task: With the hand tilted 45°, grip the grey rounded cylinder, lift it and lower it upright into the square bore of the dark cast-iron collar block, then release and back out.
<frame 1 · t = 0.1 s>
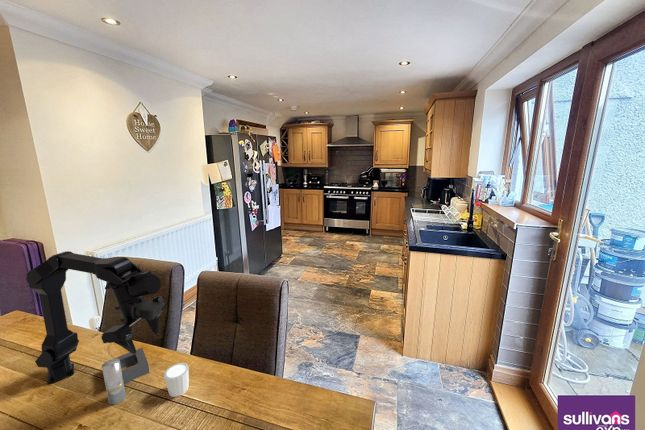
hand: (146, 343, 85), 15 cm above the table, tool pointing down, fingers open, 9 cm apart
grey rounded cylinder: (117, 398, 83), on the table
white cylinder: (178, 389, 86), on the table
collar block: (127, 371, 93), on the table
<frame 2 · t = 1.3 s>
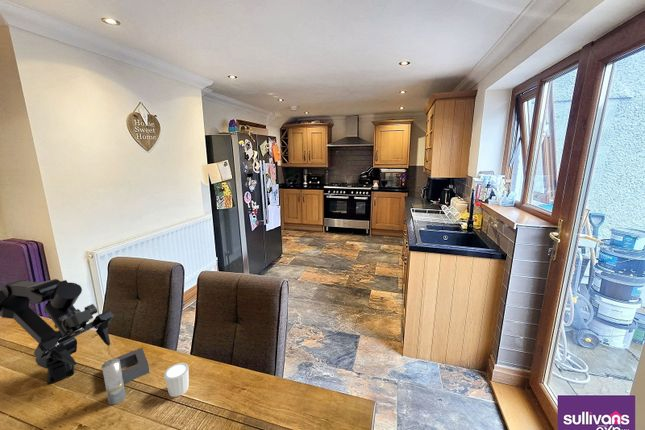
hand: (93, 354, 83), 13 cm above the table, tool tilted 45°, fingers open, 9 cm apart
nothing on the table moved.
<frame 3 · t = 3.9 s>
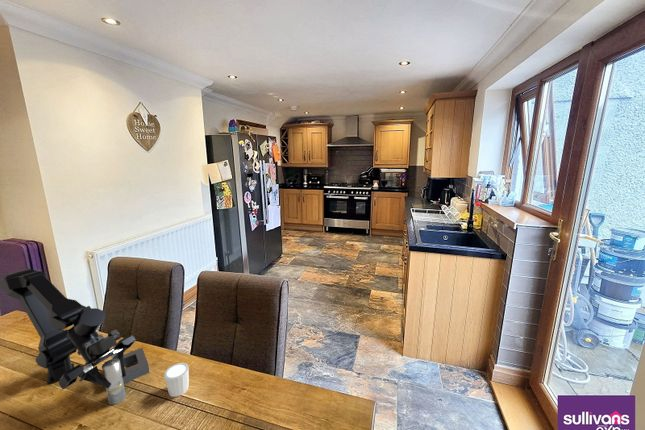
hand: (117, 381, 81), 7 cm above the table, tool tilted 45°, fingers closed on grey rounded cylinder, 4 cm apart
grey rounded cylinder: (117, 398, 83), on the table, touching gripper
everything else where it was.
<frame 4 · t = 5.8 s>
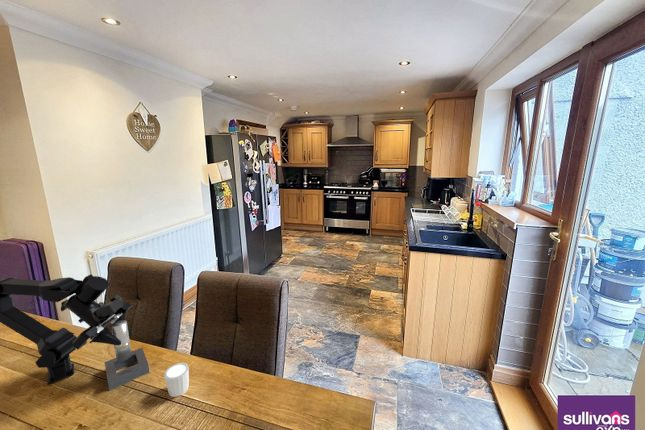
hand: (125, 339, 90), 13 cm above the table, tool tilted 45°, fingers closed on grey rounded cylinder, 4 cm apart
grey rounded cylinder: (124, 357, 91), point 7 cm above the table, touching gripper
everything else where it was.
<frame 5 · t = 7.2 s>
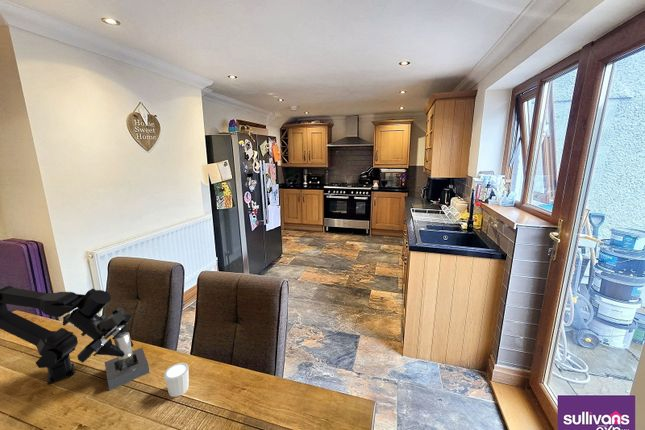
hand: (128, 350, 92), 8 cm above the table, tool tilted 45°, fingers closed on grey rounded cylinder, 4 cm apart
grey rounded cylinder: (126, 367, 93), point 2 cm above the table, touching gripper
everything else where it was.
when the fingers open (8 cm above the table, at t = 8.0 s): grey rounded cylinder drops 1 cm, resting in collar block.
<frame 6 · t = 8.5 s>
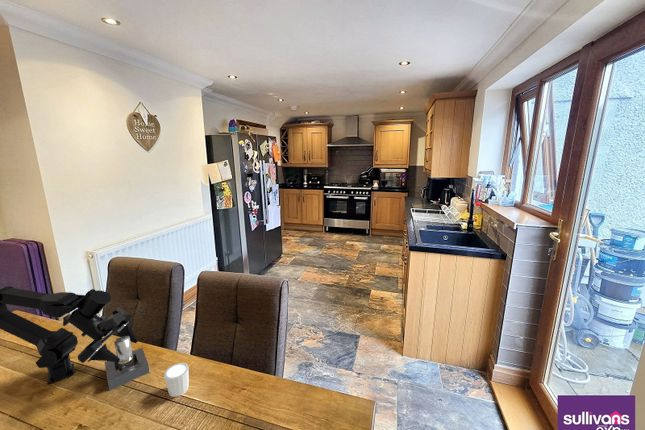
hand: (128, 351, 92), 8 cm above the table, tool tilted 45°, fingers open, 9 cm apart
grey rounded cylinder: (127, 371, 93), resting in collar block
everything else where it was.
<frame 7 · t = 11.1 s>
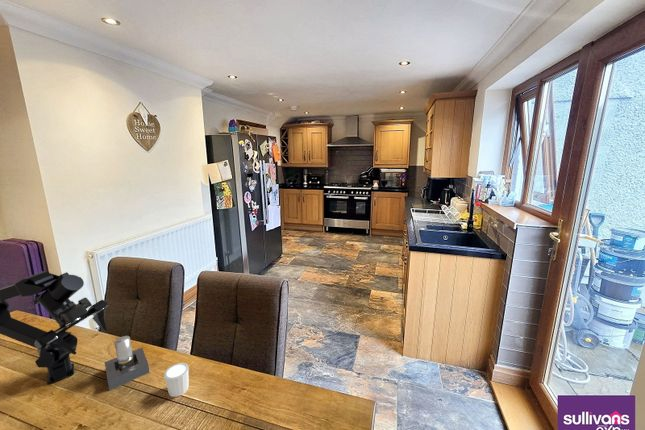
hand: (91, 342, 88), 13 cm above the table, tool tilted 35°, fingers open, 9 cm apart
nothing on the table moved.
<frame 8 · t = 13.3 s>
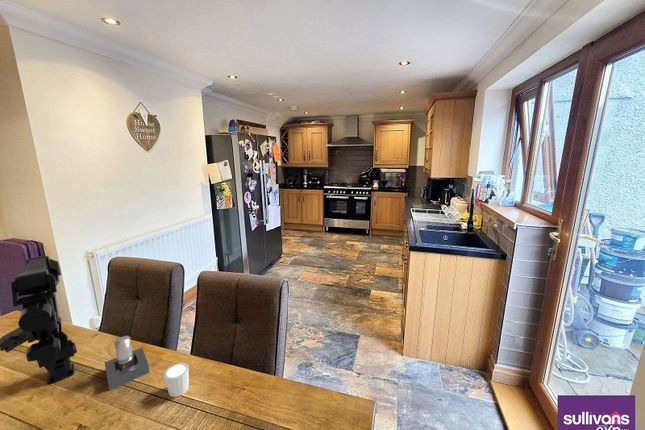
hand: (51, 361, 80), 13 cm above the table, tool pointing down, fingers open, 9 cm apart
nothing on the table moved.
at the end: grey rounded cylinder 0.0 cm off-centre on the collar block, point 0.0 cm above the collar block's base; grey rounded cylinder tilted 0°; the gripper is holding nothing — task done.
